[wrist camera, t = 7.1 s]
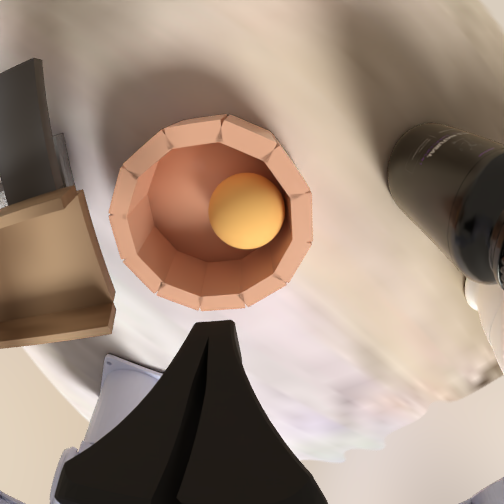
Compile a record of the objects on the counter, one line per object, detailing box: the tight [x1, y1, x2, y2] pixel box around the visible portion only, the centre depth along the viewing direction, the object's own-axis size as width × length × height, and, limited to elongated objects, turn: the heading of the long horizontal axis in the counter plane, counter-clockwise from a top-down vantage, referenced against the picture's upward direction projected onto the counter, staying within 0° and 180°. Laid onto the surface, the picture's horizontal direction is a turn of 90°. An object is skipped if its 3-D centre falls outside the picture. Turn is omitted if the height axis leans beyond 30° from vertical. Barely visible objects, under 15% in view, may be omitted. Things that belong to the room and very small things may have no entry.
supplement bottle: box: [388, 123, 504, 290], centre depth 13 cm, size 7×7×12 cm
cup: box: [109, 114, 313, 311], centre depth 17 cm, size 10×10×4 cm
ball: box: [208, 173, 285, 249], centre depth 16 cm, size 4×4×4 cm
